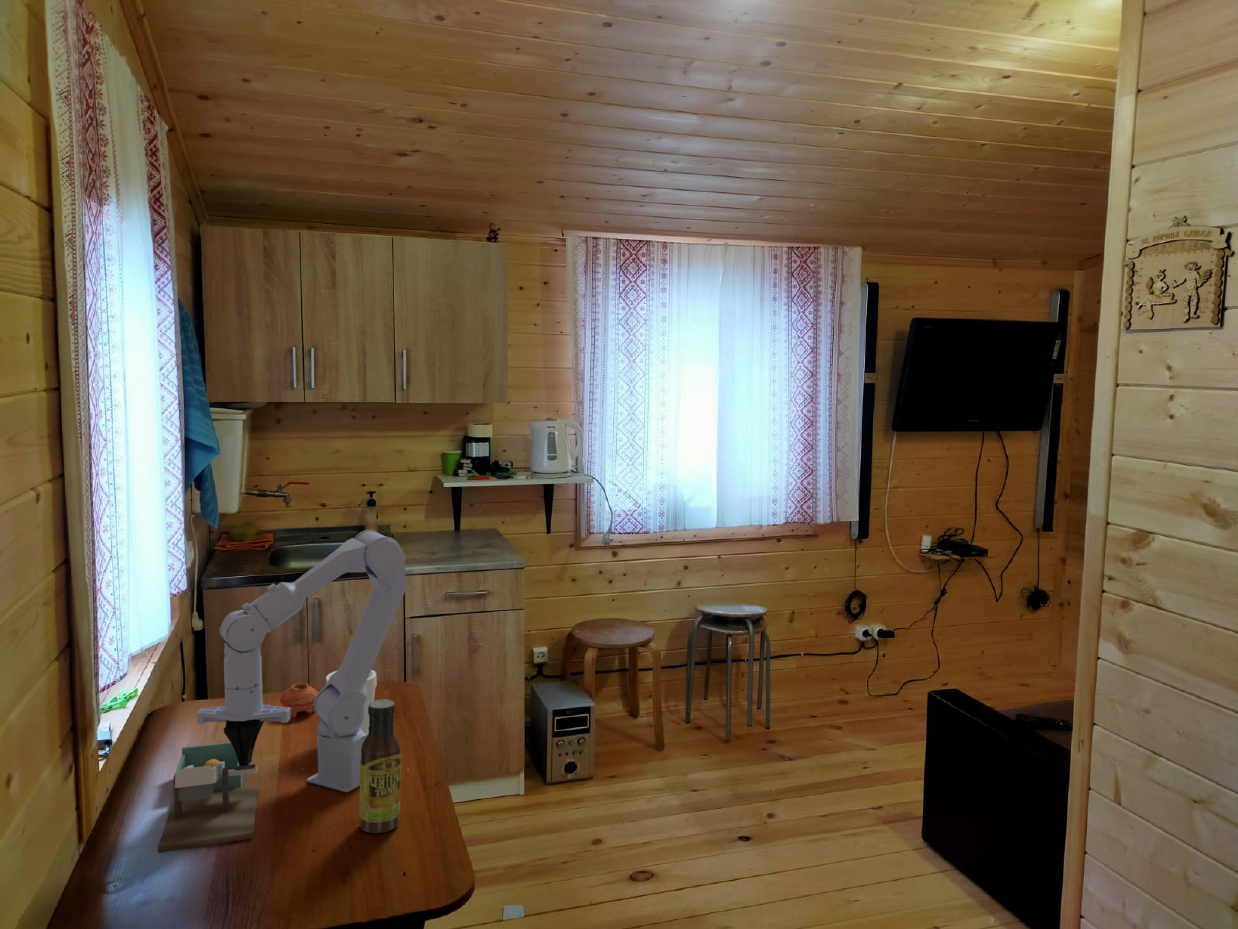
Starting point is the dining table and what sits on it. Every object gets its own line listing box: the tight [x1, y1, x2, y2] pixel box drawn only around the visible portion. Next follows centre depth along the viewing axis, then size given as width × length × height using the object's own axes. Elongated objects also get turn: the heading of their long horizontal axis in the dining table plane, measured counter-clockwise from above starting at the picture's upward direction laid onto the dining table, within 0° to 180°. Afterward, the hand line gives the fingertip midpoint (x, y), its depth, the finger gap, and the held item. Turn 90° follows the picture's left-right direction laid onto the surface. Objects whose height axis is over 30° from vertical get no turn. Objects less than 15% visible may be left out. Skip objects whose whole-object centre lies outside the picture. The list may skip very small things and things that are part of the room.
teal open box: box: [175, 741, 245, 791], centre depth 154 cm, size 10×10×5 cm
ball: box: [204, 759, 220, 768], centre depth 156 cm, size 3×3×3 cm
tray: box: [174, 761, 258, 801], centre depth 142 cm, size 16×11×5 cm, turn 19°
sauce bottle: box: [358, 698, 402, 834], centre depth 139 cm, size 6×6×20 cm
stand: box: [157, 767, 260, 853], centre depth 141 cm, size 17×13×8 cm
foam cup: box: [325, 669, 378, 735], centre depth 173 cm, size 10×9×13 cm
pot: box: [279, 682, 319, 718], centre depth 188 cm, size 8×8×7 cm
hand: (245, 763), depth 148 cm, fingers closed, pressing on tray
